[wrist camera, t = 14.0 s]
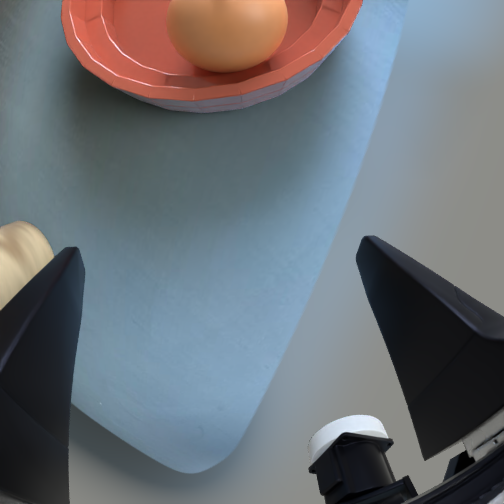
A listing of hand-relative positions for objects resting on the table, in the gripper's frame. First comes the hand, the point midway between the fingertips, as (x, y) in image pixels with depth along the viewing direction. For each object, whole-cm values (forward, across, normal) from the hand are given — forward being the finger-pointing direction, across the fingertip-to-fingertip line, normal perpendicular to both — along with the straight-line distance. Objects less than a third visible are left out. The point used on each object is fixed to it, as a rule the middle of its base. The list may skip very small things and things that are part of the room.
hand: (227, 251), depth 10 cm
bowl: (+17, 0, -9) cm, 19 cm away
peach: (+14, -2, -6) cm, 15 cm away
